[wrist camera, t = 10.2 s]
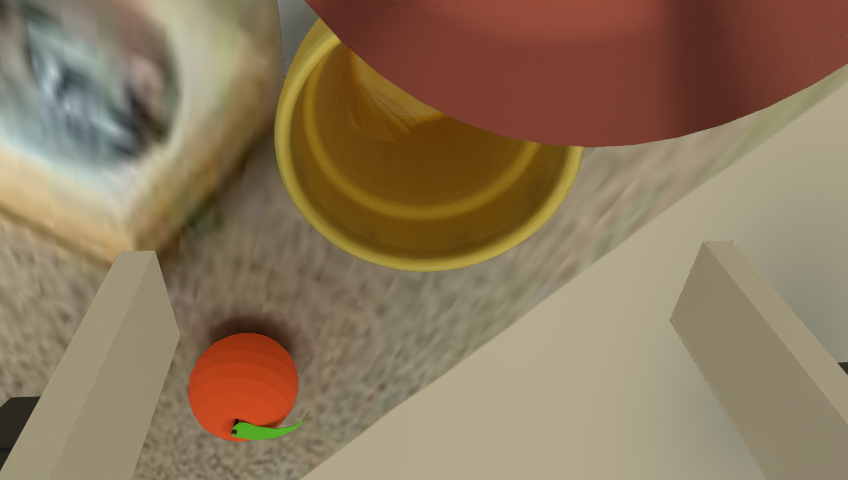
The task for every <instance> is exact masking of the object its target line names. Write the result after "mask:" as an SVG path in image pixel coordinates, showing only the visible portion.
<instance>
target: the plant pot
mask: <svg viewBox="0 0 848 480" xmlns="http://www.w3.org/2000/svg"><path fill="white" fill-rule="evenodd" d="M275 151H276V158H277V163H278V167H279V171H280V174H281V177H282V180H283V183H284V186H285V188H286V190H287V192H288V194H289V196H290V198H291V199H292V201H293V203H294V204H295V206H296V207H297V209H298V210H299V211H300V213H301V214H302V215H303V217H304V218H305V219H306V220H307V221H308V222H309V223H310V224H311V225H312V226H313V227H314V228H315V229H316V230H317V231H318V232H319V233H320V234H321V235H322V236H323V237H325V238H326V239H328V240H329V241H330V242H332V243H333V244H334V245H336V246H337V247H339V248H341V249H342V250H344V251H346V252H348V253H350V254H351V255H354V256H356V257H358V258H360V259H363V260H365V261H368V262H371V263H374V264H377V265H381V266H385V267H389V268H393V269H400V270H406V271H419V272H430V271H442V270H451V269H456V268H462V267H466V266H470V265H474V264H477V263H480V262H483V261H485V260H488V259H491V258H494V257H496V256H498V255H500V254H502V253H504V252H506V251H508V250H510V249H512V248H513V247H515V246H517V245H518V244H520V243H521V242H523V241H524V240H526V239H527V238H528V237H530V236H531V235H532V234H534V233H535V232H536V231H537V230H538V229H539V228H540V227H542V226H543V225H544V224H545V223H546V222H547V221H548V219H549V218H550V217H551V216H552V215H553V214H554V213H555V211H556V210H557V209H558V208H559V206H560V205H561V204H562V202H563V201H564V199H565V198H566V196H567V194H568V193H569V191H570V189H571V187H572V185H573V183H574V181H575V178H576V176H577V173H578V170H579V168H580V165H581V161H582V157H583V152H584V147H577V146H563V145H548V144H541V143H536V142H531V141H526V140H521V139H516V138H511V137H506V136H502V135H499V134H496V133H493V132H490V131H487V130H484V129H481V128H478V127H475V126H472V125H469V124H466V123H463V122H461V121H458V120H456V119H454V118H452V117H450V116H448V115H446V114H444V113H442V112H440V111H438V110H436V109H434V108H432V107H430V106H428V105H426V104H424V103H422V102H420V101H418V100H417V99H415V98H414V97H412V96H411V95H409V94H408V93H406V92H405V91H403V90H402V89H400V88H399V87H397V86H396V85H394V84H393V83H391V82H390V81H388V80H387V79H385V78H384V77H382V76H381V75H380V74H378V73H377V72H376V71H375V70H374V69H373V68H371V67H370V66H369V65H368V64H367V63H366V62H364V61H363V60H362V59H361V58H360V57H359V56H358V55H356V54H355V53H354V52H353V51H352V50H351V49H349V48H348V47H347V46H346V45H345V44H344V43H343V42H341V41H340V39H339V38H338V37H337V36H336V35H335V34H334V33H333V32H332V31H331V29H330V28H329V27H328V26H327V25H326V24H325V23H324V22H323V21H322V20H321V18H319V19H318V20H317V21H316V22H315V24H314V25H313V26H312V27H311V29H310V30H309V32H308V33H307V35H306V36H305V38H304V40H303V41H302V43H301V45H300V47H299V49H298V51H297V53H296V55H295V57H294V59H293V61H292V64H291V66H290V69H289V71H288V74H287V76H286V79H285V82H284V85H283V88H282V92H281V95H280V98H279V102H278V107H277V112H276V118H275Z"/></svg>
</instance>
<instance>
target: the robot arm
mask: <svg viewBox="0 0 848 480" xmlns="http://www.w3.org/2000/svg"><path fill="white" fill-rule="evenodd" d="M670 322H671V324H672V325H673V327H674V329H675V330H676V332H677V333H678V335H679V337H680V338H681V340H682V342H683V343H684V345H685V347H686V348H687V350H688V352H689V353H690V355H691V357H692V358H693V360H694V362H695V363H696V365H697V366H698V368H699V370H700V372H701V373H702V375H703V376H704V378H705V380H706V381H707V383H708V385H709V386H710V388H711V390H712V391H713V393H714V395H715V396H716V398H717V400H718V401H719V402H720V405H721V406H722V408H723V410H724V411H725V413H726V414H727V416H728V418H729V419H730V421H731V423H732V424H733V426H734V428H735V429H736V431H737V433H738V434H739V436H740V437H741V439H742V441H743V442H744V444H745V446H746V447H747V449H748V451H749V453H750V454H751V456H752V457H753V459H754V461H755V462H756V464H757V466H758V467H759V469H760V471H761V472H762V474H763V476H764V477H765V479H766V480H848V362H843V363H837V362H836V361H835V360H834V359H833V358H832V356H831V355H830V354H829V353H828V352H827V351H826V349H825V348H824V347H823V346H822V345H821V344H820V342H819V341H818V340H817V339H816V338H815V337H814V335H813V334H812V333H811V332H810V331H809V330H808V329H807V327H806V326H805V325H804V324H803V323H802V322H801V321H800V319H799V318H798V317H797V316H796V315H795V313H794V312H793V311H792V310H791V309H790V308H789V306H788V305H787V304H786V303H785V302H784V301H783V300H782V298H781V297H780V296H779V295H778V294H777V292H776V291H775V290H774V289H773V288H772V287H771V286H770V284H769V283H768V282H767V281H766V280H765V279H764V277H763V276H762V275H761V274H760V273H759V272H758V270H757V269H756V268H755V267H754V266H753V265H752V263H751V262H750V261H749V260H748V259H747V258H746V256H745V255H744V254H743V253H742V252H741V251H740V249H739V248H738V247H737V246H736V245H735V244H734V243H733V241H703V243H702V245H701V247H700V250H699V252H698V255H697V257H696V259H695V262H694V264H693V266H692V269H691V271H690V273H689V276H688V278H687V281H686V283H685V286H684V288H683V290H682V292H681V295H680V297H679V299H678V302H677V304H676V307H675V309H674V311H673V314H672V316H671V318H670ZM179 338H180V333H179V330H178V326H177V323H176V320H175V316H174V313H173V310H172V306H171V303H170V299H169V296H168V293H167V289H166V286H165V283H164V279H163V276H162V273H161V269H160V266H159V262H158V259H157V256H156V252H155V251H120V252H119V254H118V255H117V257H116V259H115V261H114V263H113V265H112V266H111V268H110V270H109V272H108V274H107V276H106V277H105V279H104V281H103V283H102V285H101V287H100V289H99V290H98V292H97V294H96V296H95V298H94V300H93V301H92V303H91V305H90V307H89V309H88V311H87V312H86V314H85V316H84V318H83V320H82V322H81V324H80V325H79V327H78V329H77V331H76V333H75V335H74V336H73V338H72V340H71V342H70V344H69V346H68V347H67V349H66V351H65V353H64V355H63V357H62V359H61V360H60V362H59V364H58V366H57V368H56V370H55V371H54V373H53V375H52V377H51V379H50V381H49V382H48V384H47V386H46V388H45V390H44V392H43V394H42V395H41V396H39V397H14V398H10V399H9V400H8V401H7V402H6V403H5V404H4V405H2V406H1V407H0V480H131V479H132V476H133V473H134V470H135V467H136V465H137V462H138V459H139V456H140V453H141V450H142V447H143V444H144V441H145V438H146V435H147V432H148V429H149V426H150V423H151V421H152V418H153V415H154V412H155V409H156V406H157V403H158V400H159V397H160V394H161V391H162V388H163V385H164V382H165V379H166V376H167V374H168V371H169V368H170V365H171V362H172V359H173V356H174V353H175V350H176V347H177V344H178V341H179Z"/></svg>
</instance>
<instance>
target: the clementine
mask: <svg viewBox="0 0 848 480" xmlns="http://www.w3.org/2000/svg"><path fill="white" fill-rule="evenodd" d="M297 391H298V376H297V370H296V367H295V364H294V362H293V360H292V358H291V356H290V355H289V353H288V352H287V351H286V350H285V349H284V348H283V347H282V346H281V345H280V344H279V343H278V342H276V341H275V340H273V339H271V338H269V337H267V336H264V335H261V334H255V333H239V334H235V335H231V336H228V337H226V338H224V339H222V340H219V341H217V342H215V343H214V344H213V345H212V346H211V347H209V348H208V349H207V350H206V351H205V352H204V353H203V354H202V355H201V356H200V358H199V359H198V361H197V363H196V365H195V367H194V369H193V371H192V373H191V375H190V382H189V391H188V397H189V401H190V406H191V409H192V412H193V414H194V416H195V417H196V419H197V420H198V421H199V423H200V424H201V425H202V426H203V428H204V429H206V430H207V431H209V432H210V433H212V434H214V435H215V436H217V437H220V438H222V439H225V440H229V441H248V440H264V439H271V438H275V437H278V436H281V435H284V434H287V433H289V432H291V431H293V430H294V429H295V428H297V427H298V426H299V425H301V424H302V423H303V421H304V420H305V418H306V417H307V415H308V414H309V413H308V414H307V415H306V417H305V418H304V419H303V421H301V422H299V423H298V424H296V425H294V426H290V427H285V428H276V427H278V426H279V425H280V424H281V423H282V422H283V421H284V419H285V418H286V417H287V415H288V414H289V412H290V411H291V409H292V408H293V405H294V402H295V399H296V395H297ZM309 412H310V411H309Z"/></svg>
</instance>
